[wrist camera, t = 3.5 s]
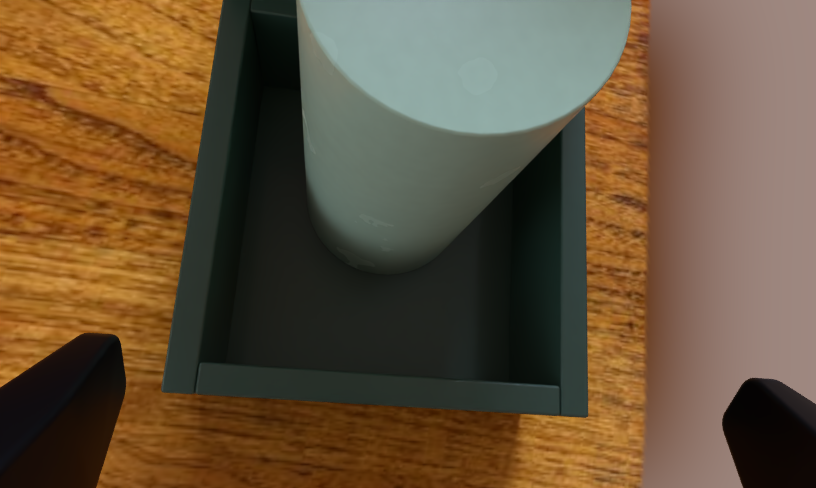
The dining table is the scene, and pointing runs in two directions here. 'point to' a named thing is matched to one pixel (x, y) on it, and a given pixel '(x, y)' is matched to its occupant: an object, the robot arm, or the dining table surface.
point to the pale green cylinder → (436, 111)
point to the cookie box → (358, 290)
